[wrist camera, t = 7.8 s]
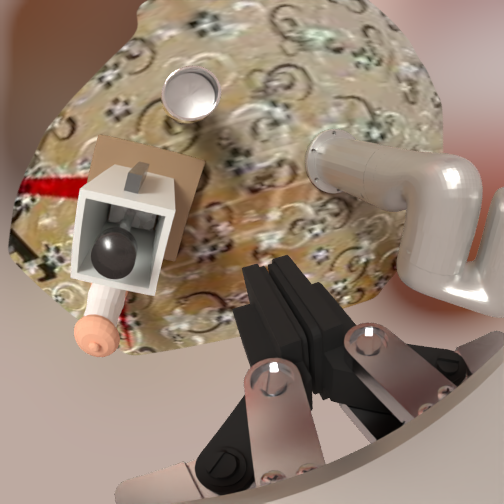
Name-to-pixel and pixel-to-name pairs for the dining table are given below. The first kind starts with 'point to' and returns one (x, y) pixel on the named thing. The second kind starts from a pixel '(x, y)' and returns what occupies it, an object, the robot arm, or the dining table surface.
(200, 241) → the dining table surface
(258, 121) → the dining table surface
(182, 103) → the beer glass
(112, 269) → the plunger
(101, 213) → the white pen holder
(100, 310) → the salt shaker
